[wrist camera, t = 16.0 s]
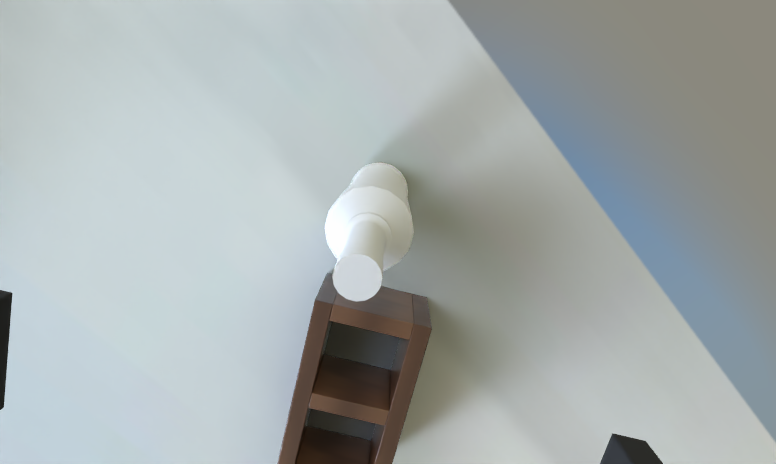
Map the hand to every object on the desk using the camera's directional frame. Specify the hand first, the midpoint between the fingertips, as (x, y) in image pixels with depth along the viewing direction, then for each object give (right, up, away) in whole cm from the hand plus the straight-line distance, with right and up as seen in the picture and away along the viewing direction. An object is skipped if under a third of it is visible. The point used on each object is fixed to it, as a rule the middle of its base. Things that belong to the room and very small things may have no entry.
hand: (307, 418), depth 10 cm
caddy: (-1, -10, +38) cm, 39 cm away
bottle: (+1, +8, +34) cm, 35 cm away
